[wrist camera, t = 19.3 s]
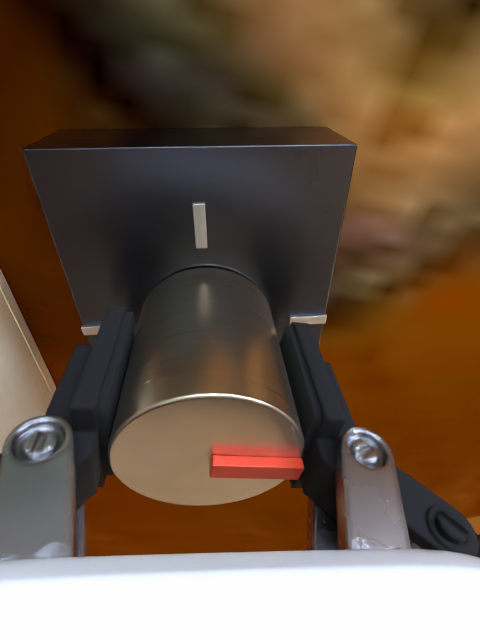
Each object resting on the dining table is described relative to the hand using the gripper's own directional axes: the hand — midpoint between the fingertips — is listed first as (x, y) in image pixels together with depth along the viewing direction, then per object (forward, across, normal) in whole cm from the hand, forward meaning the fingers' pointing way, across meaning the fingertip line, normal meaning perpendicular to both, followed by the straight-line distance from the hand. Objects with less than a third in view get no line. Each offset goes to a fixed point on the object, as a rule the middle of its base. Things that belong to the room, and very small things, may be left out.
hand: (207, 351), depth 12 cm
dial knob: (+2, 0, 0) cm, 2 cm away
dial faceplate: (+5, 0, 0) cm, 5 cm away
